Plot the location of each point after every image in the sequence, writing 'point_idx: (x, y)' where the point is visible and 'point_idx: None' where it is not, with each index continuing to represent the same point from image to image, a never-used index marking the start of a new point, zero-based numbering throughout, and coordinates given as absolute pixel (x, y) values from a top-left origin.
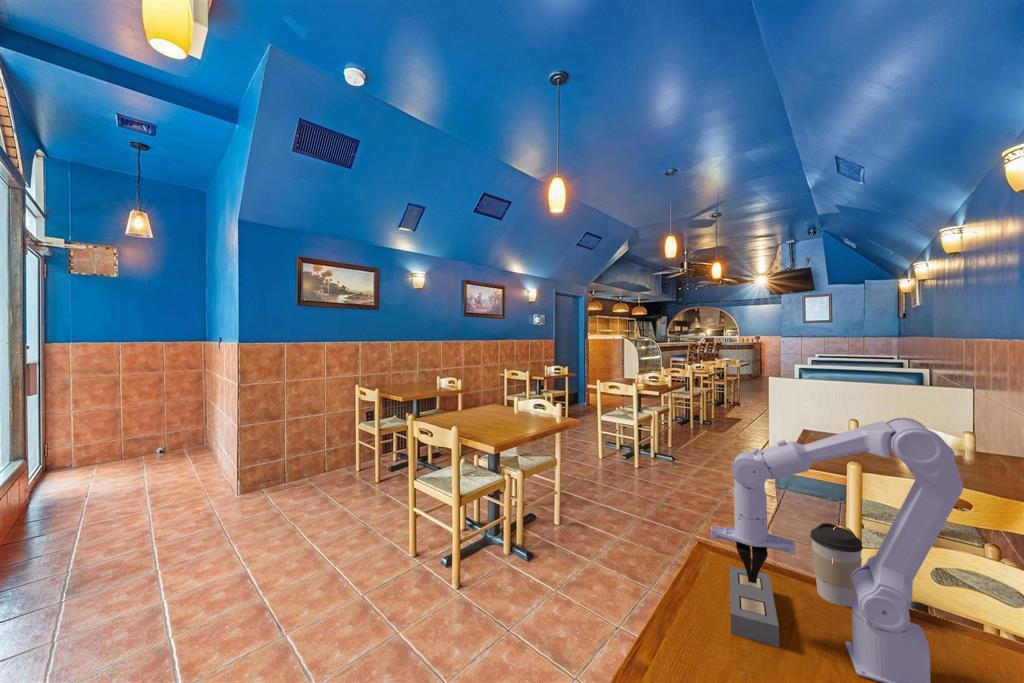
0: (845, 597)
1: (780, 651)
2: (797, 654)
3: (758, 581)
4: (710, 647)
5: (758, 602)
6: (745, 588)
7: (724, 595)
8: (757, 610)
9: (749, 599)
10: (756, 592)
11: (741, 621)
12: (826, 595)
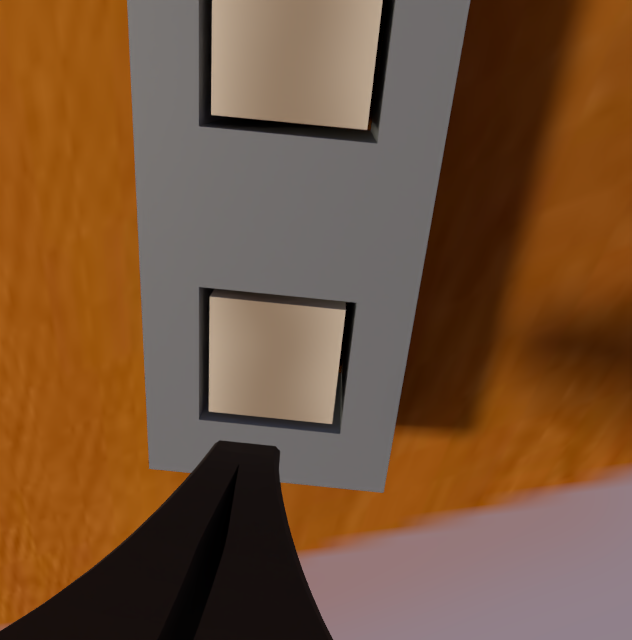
0: None
1: None
2: (442, 438)
3: (367, 8)
4: (107, 500)
5: (315, 318)
6: (246, 178)
7: None
8: (296, 398)
9: (262, 303)
10: (320, 205)
11: None
12: None
